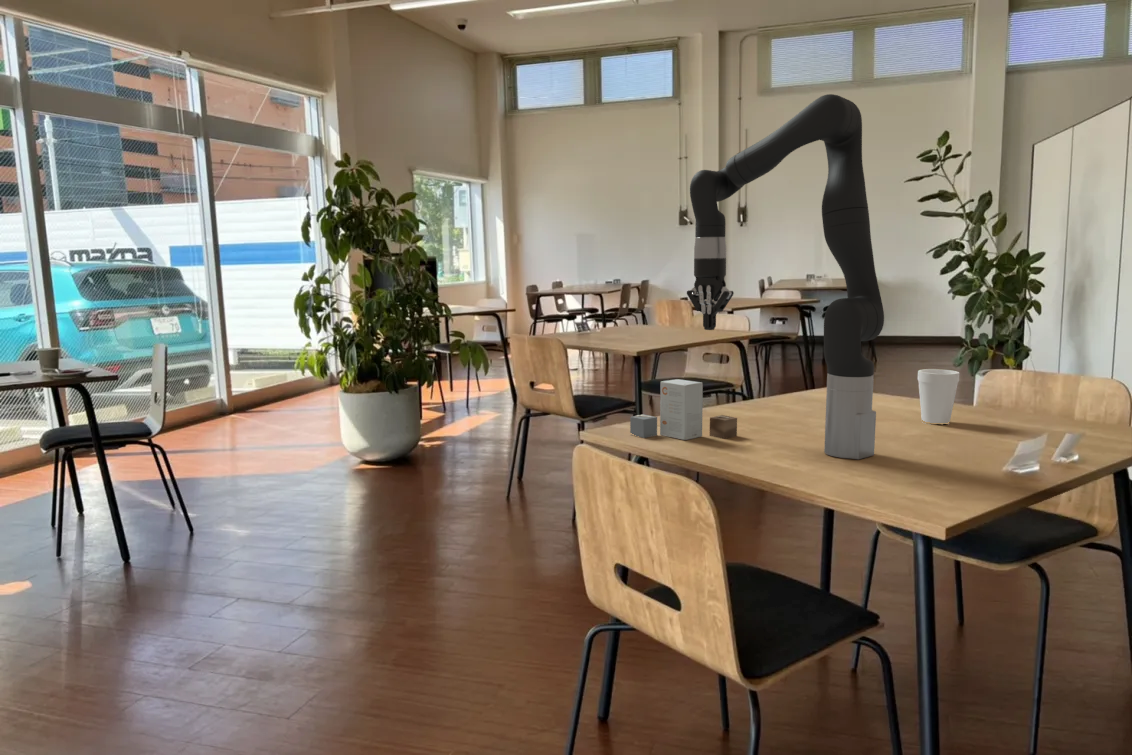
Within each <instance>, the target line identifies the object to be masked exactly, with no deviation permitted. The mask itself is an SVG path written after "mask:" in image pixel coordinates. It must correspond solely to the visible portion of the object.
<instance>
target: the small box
mask: <svg viewBox="0 0 1132 755" xmlns="http://www.w3.org/2000/svg"><path fill="white" fill-rule="evenodd" d="M703 388H704V386H703V382H702V381H701V382H700V381H694V380H685V379H678V378H676V379H670V380H669V379H667V380H663V381H660V391H659V392H660V398H659V399H660V404H659V405H660V407H659V411H660V412H659V414H660V416H659V419H660V420H659V422H660V423H659V424H660V425H659V427H660V428H659V432H660V433H659V435H660V436H665V437H669V438H673V439H679V440H682V441H686V440H693V439H697V438H701V437H702V436H703V402H704V401H703V400H704V399H703V396H704V394H703V393H704V392H703V390H704V389H703Z"/></svg>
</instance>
